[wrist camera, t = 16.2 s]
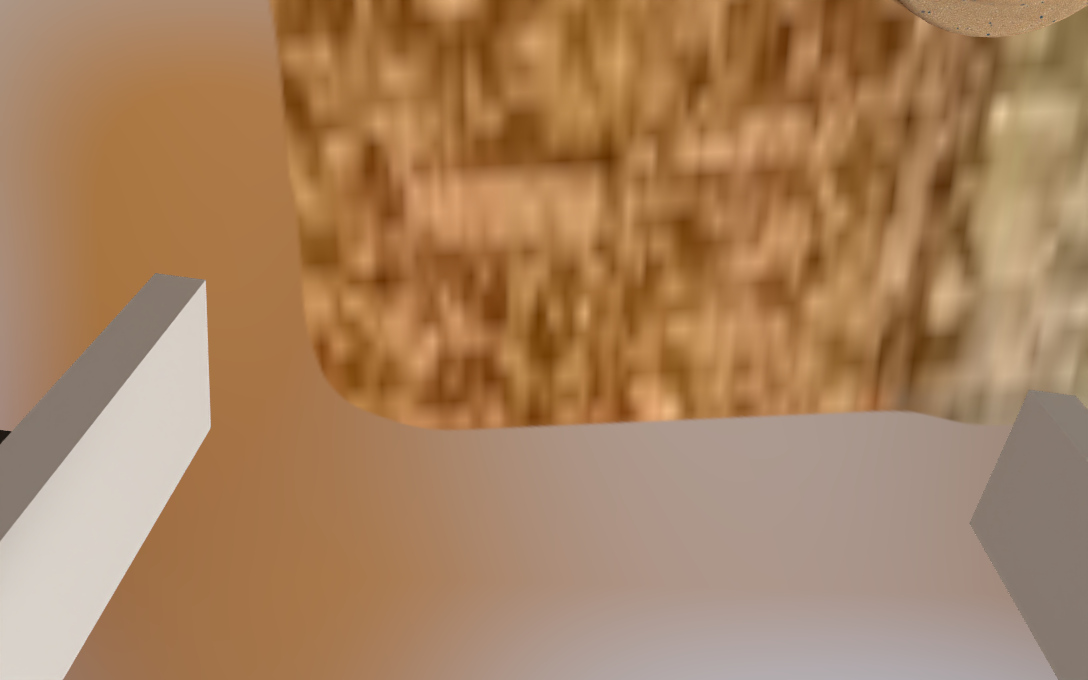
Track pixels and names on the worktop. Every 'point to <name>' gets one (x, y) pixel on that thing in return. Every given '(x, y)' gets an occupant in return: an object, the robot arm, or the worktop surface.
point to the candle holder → (993, 15)
